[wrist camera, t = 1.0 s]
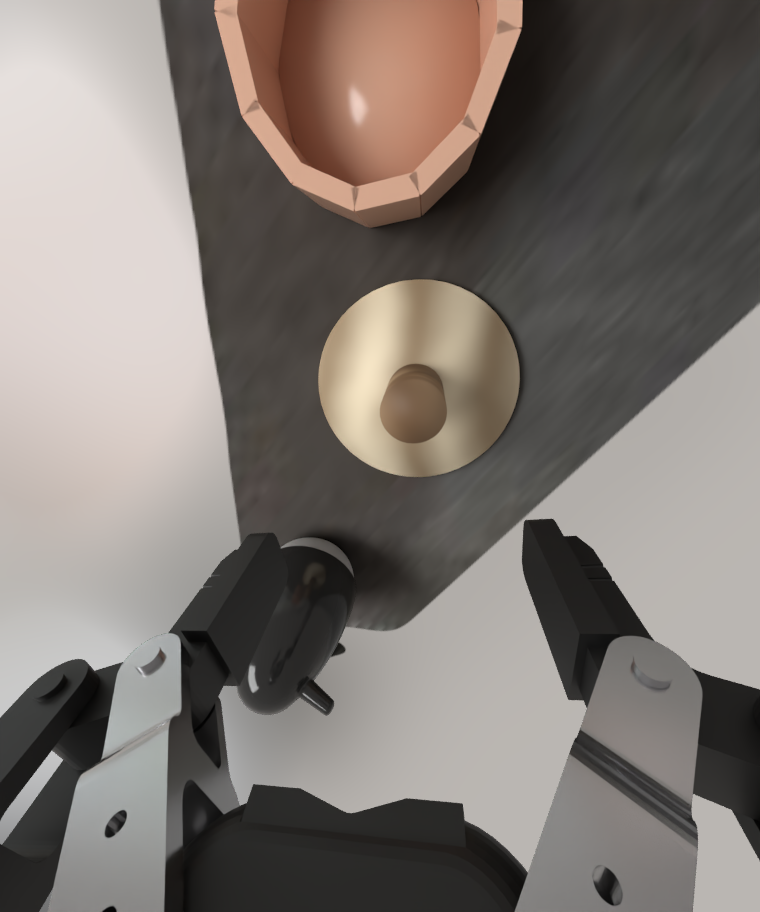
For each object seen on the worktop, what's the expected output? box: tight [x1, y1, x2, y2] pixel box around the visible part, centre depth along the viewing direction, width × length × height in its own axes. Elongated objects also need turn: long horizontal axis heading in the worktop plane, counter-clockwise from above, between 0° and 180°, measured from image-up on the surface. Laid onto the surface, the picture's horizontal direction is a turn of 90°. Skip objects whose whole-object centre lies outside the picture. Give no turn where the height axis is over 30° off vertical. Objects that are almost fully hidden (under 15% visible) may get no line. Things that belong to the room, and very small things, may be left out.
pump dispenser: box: [236, 537, 356, 716], centre depth 30 cm, size 10×10×15 cm
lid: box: [318, 279, 520, 477], centre depth 24 cm, size 16×16×6 cm
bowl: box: [214, 0, 523, 228], centre depth 16 cm, size 13×13×6 cm
